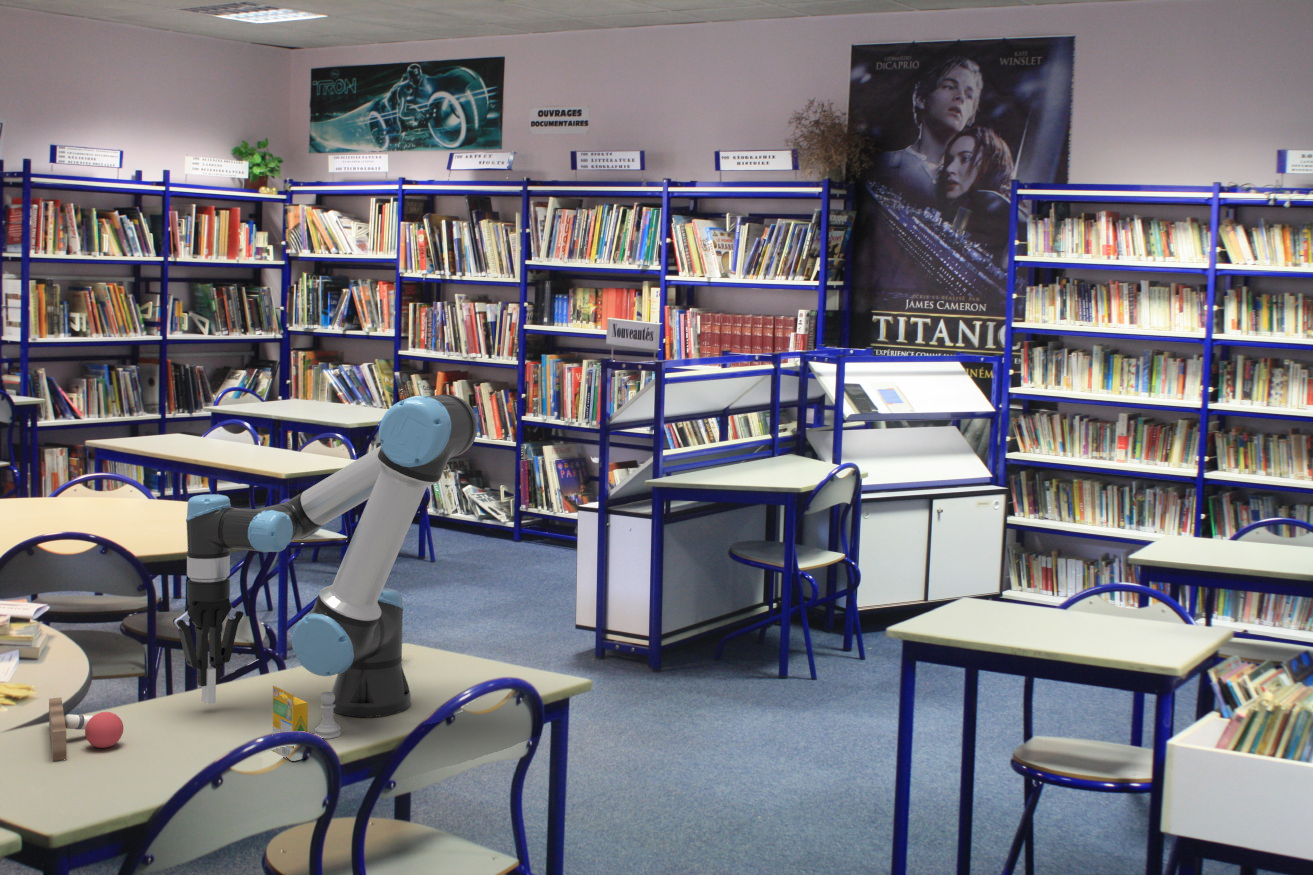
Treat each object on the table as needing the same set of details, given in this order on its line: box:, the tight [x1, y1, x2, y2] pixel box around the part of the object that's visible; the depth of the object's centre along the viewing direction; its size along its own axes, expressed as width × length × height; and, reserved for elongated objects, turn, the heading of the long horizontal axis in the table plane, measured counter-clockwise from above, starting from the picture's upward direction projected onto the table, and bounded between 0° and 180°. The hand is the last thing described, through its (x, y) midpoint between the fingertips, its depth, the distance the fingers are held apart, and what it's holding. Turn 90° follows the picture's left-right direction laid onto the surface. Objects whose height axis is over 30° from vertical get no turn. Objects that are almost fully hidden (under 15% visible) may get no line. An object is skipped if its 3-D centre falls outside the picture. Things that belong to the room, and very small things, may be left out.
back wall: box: [48, 697, 67, 762], centre depth 211 cm, size 20×2×5 cm, turn 28°
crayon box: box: [271, 685, 309, 759], centre depth 208 cm, size 7×3×12 cm, turn 44°
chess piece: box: [314, 691, 342, 740], centre depth 218 cm, size 5×5×8 cm
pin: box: [64, 713, 94, 731], centre depth 214 cm, size 2×2×9 cm
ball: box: [84, 711, 124, 749], centre depth 209 cm, size 6×6×6 cm
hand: (208, 701), depth 230 cm, fingers closed
